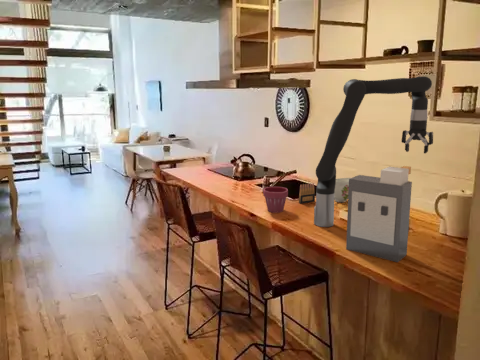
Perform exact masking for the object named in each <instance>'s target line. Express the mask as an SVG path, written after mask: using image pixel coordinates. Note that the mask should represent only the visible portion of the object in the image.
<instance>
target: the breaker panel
mask: <svg viewBox="0 0 480 360" xmlns="http://www.w3.org/2000/svg"><path fill="white" fill-rule="evenodd" d="M349 178H350V179H349V190H348V200H347V216H346V217H347V219H346V221H347V222H346V226H347V227H346V240H345V241H346V244H345V248H346V249H345V250H348V251H351V252H355V253H360V254H364V255H367V256H372V257H376V258H379V259H384V260H388V261H390V262H391V261H392V262H395V263H399V262H400V261H401V260H402V259H404V258H405V257H406V256H407V254H408V240H409V226H410V213H411V212H410V211H411V197H412V188H413V187H412V185H413V182H412V181H410V180H408V181H406V182H404V183H402V184H400V185H398V184H390V183H383V182H380V176H379V177H378V176H370V175H365V174H364V175H363V174H358V175H356V176H355V175H354V176H353V177H349Z"/></svg>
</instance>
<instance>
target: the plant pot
mask: <svg viewBox="0 0 480 360" xmlns="http://www.w3.org/2000/svg"><path fill="white" fill-rule="evenodd" d="M263 197H264V199H265V200H264V201H265V203H266V208H267V212H269V213H273V214H279V213H282V212H283V211H284V208H285V204H286V202H287V201H286V200H287V197H289V190H288V188H287V187H283V186H267V187H264V188H263Z"/></svg>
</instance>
